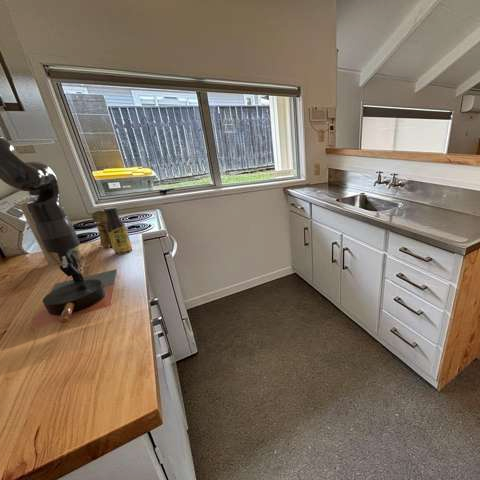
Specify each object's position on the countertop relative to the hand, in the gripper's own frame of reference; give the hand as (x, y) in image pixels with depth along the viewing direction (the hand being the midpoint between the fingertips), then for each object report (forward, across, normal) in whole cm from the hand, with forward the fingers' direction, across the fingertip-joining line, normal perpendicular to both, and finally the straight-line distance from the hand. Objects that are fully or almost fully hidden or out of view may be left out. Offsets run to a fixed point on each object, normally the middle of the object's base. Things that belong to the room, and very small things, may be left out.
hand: (81, 283), depth 82 cm
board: (+3, +3, 0) cm, 4 cm away
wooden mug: (+4, -42, +5) cm, 43 cm away
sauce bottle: (+3, -28, +10) cm, 30 cm away
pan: (+2, +12, 0) cm, 13 cm away
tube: (+3, -34, -10) cm, 36 cm away
